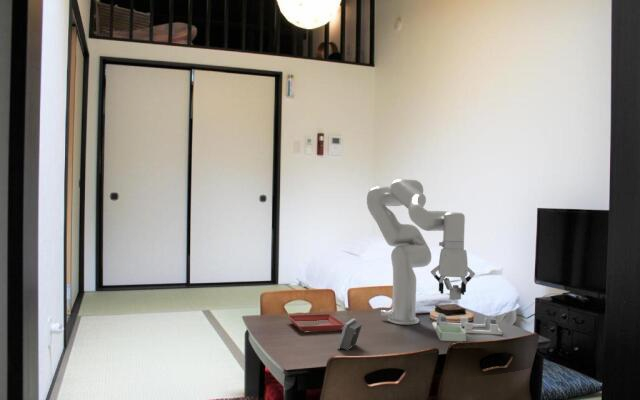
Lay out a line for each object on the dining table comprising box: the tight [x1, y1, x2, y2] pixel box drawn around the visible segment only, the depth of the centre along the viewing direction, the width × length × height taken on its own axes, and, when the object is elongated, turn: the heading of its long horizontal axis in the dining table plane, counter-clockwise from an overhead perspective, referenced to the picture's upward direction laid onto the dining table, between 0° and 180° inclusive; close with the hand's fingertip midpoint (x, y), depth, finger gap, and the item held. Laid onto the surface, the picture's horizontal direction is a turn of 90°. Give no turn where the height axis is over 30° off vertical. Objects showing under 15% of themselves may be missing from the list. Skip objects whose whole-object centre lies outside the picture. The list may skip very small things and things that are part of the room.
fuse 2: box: [486, 315, 497, 331], centre depth 210 cm, size 2×7×5 cm, turn 175°
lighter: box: [443, 277, 462, 301], centre depth 199 cm, size 7×2×8 cm, turn 114°
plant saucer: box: [287, 313, 345, 333], centre depth 208 cm, size 18×18×3 cm
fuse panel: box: [431, 315, 503, 335], centre depth 211 cm, size 25×11×4 cm, turn 85°
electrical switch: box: [336, 318, 363, 351], centre depth 182 cm, size 9×5×9 cm, turn 158°
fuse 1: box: [437, 313, 447, 325], centre depth 212 cm, size 2×7×5 cm, turn 175°
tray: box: [435, 325, 467, 342], centre depth 199 cm, size 9×11×3 cm
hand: (452, 293), depth 199 cm, fingers closed on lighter, 7 cm apart
